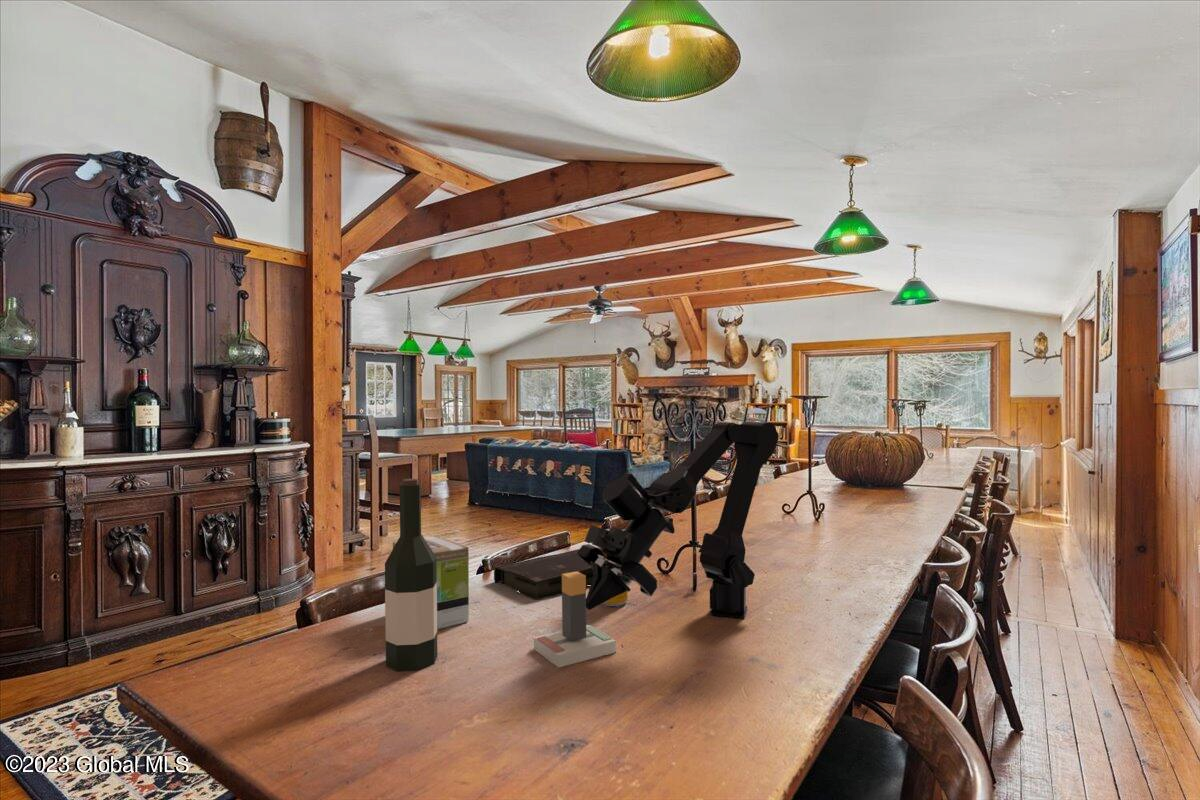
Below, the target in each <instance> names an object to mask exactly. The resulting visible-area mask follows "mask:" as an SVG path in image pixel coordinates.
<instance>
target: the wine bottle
mask: <svg viewBox="0 0 1200 800" xmlns="http://www.w3.org/2000/svg"><path fill="white" fill-rule="evenodd" d="M401 482H402V483H401V484H399V538H398V540H397V541H396V542H397V543H396V545H395V546H394V548H393V547H392V550H391V551H390V553H389V555H388V557H387V559H386V561H385V562H384V600H385V601H384V603H385V604H384V608H385V611H384V615H385V620H384V621H385V622H384V623H385V667H387V668H389V669H391V670H394V671H395V672H412V671H420V670H422V669H424V668H428V667H430V666H432V665H434V664H435V663H436V660H437V659H438V629H437V564H436V556H435V554H434V553H433V551H432V550H431V548H430V547H429V545H428V544H427V542H426V541H425V539H424V536H423V535H422V492H421V491H422V490H421V489H422V488H421V487H422V485H421V483H419V479H418V478H404V479H402V481H401Z"/></svg>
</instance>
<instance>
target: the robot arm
mask: <svg viewBox="0 0 1200 800" xmlns="http://www.w3.org/2000/svg"><path fill="white" fill-rule="evenodd" d="M779 438H780V436H779V432H778V431H777V428H776V427H775V424H773V423H772V422H768V421H767V422H766V421H743V422H742V423H736V422H732V421H730V422H727V421H719V422H716V423H715V424H714V425H713V426H712V427H711V430H710V431H709V433H708V434H706V436H704V438H703V439H702V440H701V441H700V442H699V443H698V444H697V445H696V446H695V448H694V449H693V450H692V451H691V452H690V453H689V454H688V455H687V456H686V457H685V459H684V460H682V462H681V463H680V464H679V465H678V466H676V467H675V468H673V469H671V470H669V471H667V472H664V473H662V474H661V475H660V476H658V478H657V479H655V480H654V481H652V482H651V484H650V485H649V486H645V487H643V486H642V485H641V483H640V482H639V481H638V480H637V478H636V477H635V476H634V474H633V473H630V472H625V473H623V474H622V476H620V477H618V478H615V479H614V480H612V482H610V483H608V484H607V485H606V486H605V488H604V489H603V491H602V494H601V495H602V496H601V497H602V500H604V502H605V503H606V505H608V506H609V507H610V508H611V509H612V511H613V512H615V514H616V515H617V516H618V517H619V518H620V519H621V520H622V521H630V522H629V523H628V524H627V525H626V527H624V529H620V528H618V527H615V526H611V528H609V529H610V530H609V531H608V530H605V528H602V527H599V526H597V525H593V524H590V526H589V528H588V531H587V533H586V536H585V539H584V542H585V543H587V544H582V545H581V547H580V548H578V549H579V550H578V552H577V554H578V555H579V556H580V557H581V558H582V559H583V560H584V561H585V562H586V563H587V564H588V565H589V566H590V567H591V568H592V569H593V579H592V583H591V586H590V587H589V589H588V592H587V594H586V610H589V611H591V610H593V609H594V608H596V607H598V606H600V605H603V604H602V603H604V602H605V601H607V600H609V599H611V598H613V597H615V596H617V595H619V594H622V593H624V592H626V591H628V592H629V593H630V592H631V588H630V585H631V584H632V583H633V582H635V583H637V584H638V585H639V586H640V588H639V591H640V593H642V594H645V595H647V596H649V597H652V596H653V595H654V594H655V592H656V591H657V589H658V580H657V578H656V577H655V576H654V575H653V574H652V573H651V572H650V571H649V570H648V569H647V568H646V567H645V566H644V565H643V564H642V563H641V562H642V560H643V559H644V558H648V559H649V558H651V556H652V555H653V552H652V551H651V550H650V549H651V548H652V546H653V545H654V544H655V542H656V541H657V540H658V538H659V537H660V536H661V534H662V533H663V532H666V533H669V534H674V533H675V525H674V519H673V517H668V516H665V515H664V514H663V512H662V511H664V512H668V513H672V514H681V513H684V512H685V511H686V509H687V508H688V507H689V506H690V504H691V503H692V501H693V499H694V498H695V496H696V493H697V486H698V485H699V483H700V481H701V480H702V479H703V478H704V477H705V476H706V474H707V473H708V472H709V471H710V470H711V469H712V468H713V466H714V465H715V464H716V463H717V462H718V461H719V460H720V459H721V457H722V456H723V455H724V454H725V453H726V452H727V451H728V450H729V448H730V447H731V446H732V445H733V449H734V452H735V457H736V458H735V459H736V462H735V466H734V470H733V473H732V477H731V480H730V484H729V488H728V490H727V494H726V498H725V501H724V505H723V509H722V512H721V515H720V519H719V523H718V525H717V528H716V529H715V530H714V531H712V533H709V532H706V533H704V535H703V538H702V543H701V546H700V548H699V550H698V553H699V554H700V555H699V563H700V564H701V568H702V569H703V570H704V574H705V577H706V578H707V579H710V580H712V585H711V586H710V588H709V610H711V612H710V615H711V616H717V617H728V618H738V619H745V618H746V614H747V610H748V606H747V588H748V587H749V586H750V585H753V583H754V579H755V572H754V571H753V570H752V569H751V568H750V567H749V565H747V563H746V562H745V556H746V547H745V543H744V538H743V533H744V531H745V530H744V529H745V527H746V522H747V519H748V516H749V511H750V508H751V504H752V500H753V497H754V493H755V490H756V486H757V483H758V478H759V475H760V471H761V469H762V467H763V466H764V464H766V462H767V461H768V460H769V459H770V458H772V456H773V454H774V452H775V449H776V447H777V445H778V443H779ZM598 547H600V548H601V549H599V548H598ZM602 552H603V553H604V554H606V555H607V556H605V555H604V554H603V553H602ZM612 565H613V566H612Z"/></svg>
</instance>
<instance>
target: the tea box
mask: <svg viewBox="0 0 1200 800" xmlns="http://www.w3.org/2000/svg"><path fill="white" fill-rule="evenodd" d="M423 537H424V536H423ZM424 539H425V541H426V542H427V544H428V545H429V547H430V548H431V550H432V551H433V553H434V554H435V556H436V564H437V630H441V629H445V628H449V627H452V626H458V625H461V624H464V623H468V622H469V618H470V616H469V615H470V603H469V601H470V599H469V598H470V597H469V596H470V592H469V591H470V590H469V589H470V587H469V582H470V578H469V576H470V571H469V569H470V568H469V566H470V565H469V561H470V555H469V547H468V546H466V545H464V544H460V543H457V542H455V541H452V540H450V539H447V538H443V537H440V536H438V535H434V536H433V535H432V536H425V537H424ZM396 543H397V541H393V542H392V549H393V548H394V546H395V545H396Z"/></svg>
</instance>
